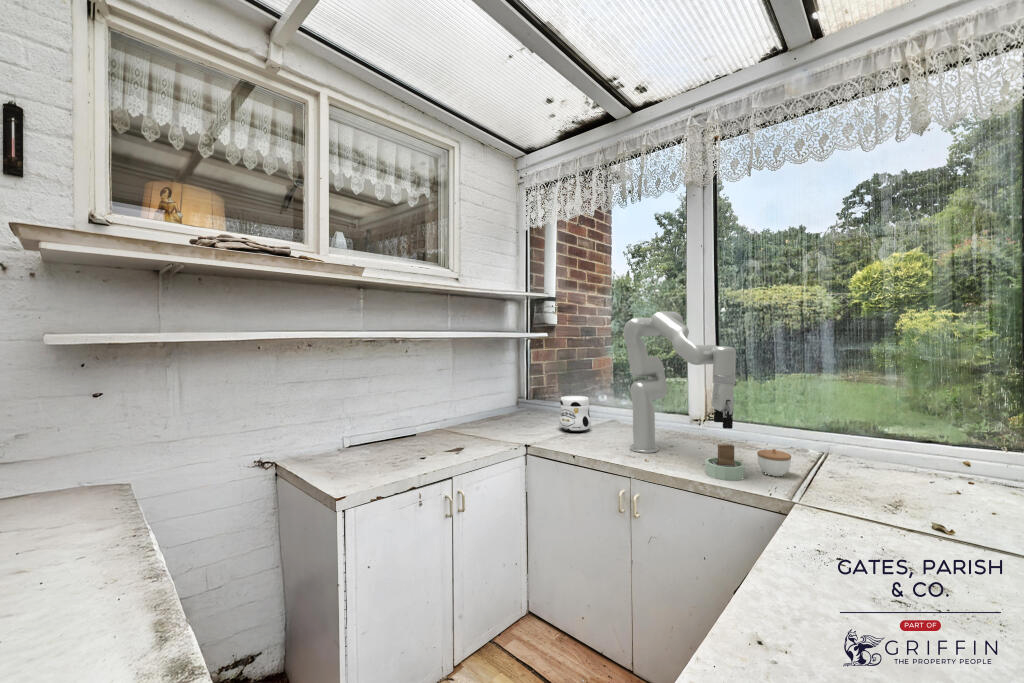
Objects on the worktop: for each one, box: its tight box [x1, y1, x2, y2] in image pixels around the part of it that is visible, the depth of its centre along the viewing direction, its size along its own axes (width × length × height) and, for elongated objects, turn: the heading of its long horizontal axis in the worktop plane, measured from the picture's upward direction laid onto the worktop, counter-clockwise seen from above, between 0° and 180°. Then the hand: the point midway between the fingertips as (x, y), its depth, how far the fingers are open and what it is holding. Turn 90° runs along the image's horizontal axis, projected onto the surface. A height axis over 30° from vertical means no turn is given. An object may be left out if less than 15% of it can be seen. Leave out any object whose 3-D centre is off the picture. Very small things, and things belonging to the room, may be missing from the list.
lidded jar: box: [756, 448, 792, 477], centre depth 159 cm, size 11×11×9 cm
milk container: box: [558, 395, 592, 433], centre depth 234 cm, size 17×17×18 cm
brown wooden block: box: [717, 443, 735, 465], centre depth 159 cm, size 2×5×10 cm, turn 82°
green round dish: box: [704, 456, 746, 481], centre depth 159 cm, size 13×13×4 cm
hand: (722, 425), depth 160 cm, fingers open, 9 cm apart
